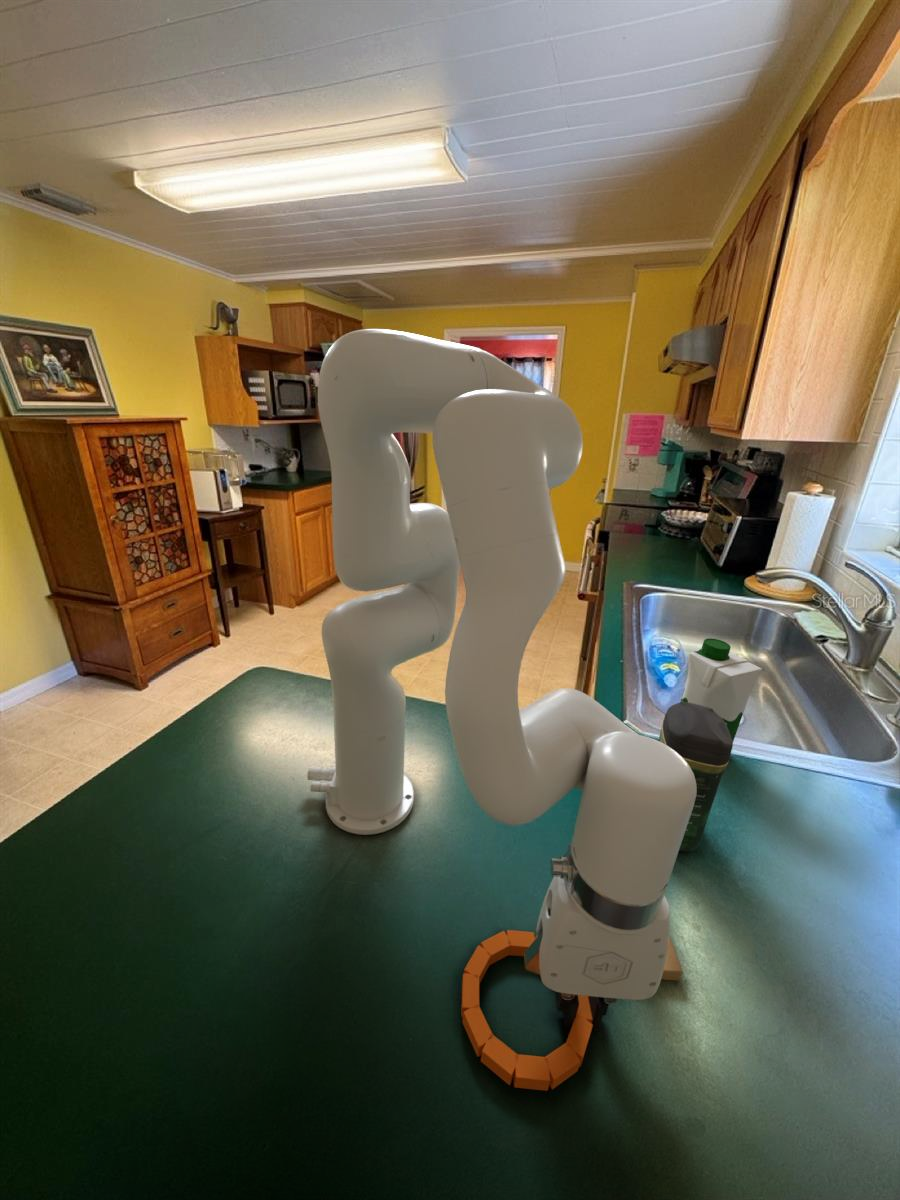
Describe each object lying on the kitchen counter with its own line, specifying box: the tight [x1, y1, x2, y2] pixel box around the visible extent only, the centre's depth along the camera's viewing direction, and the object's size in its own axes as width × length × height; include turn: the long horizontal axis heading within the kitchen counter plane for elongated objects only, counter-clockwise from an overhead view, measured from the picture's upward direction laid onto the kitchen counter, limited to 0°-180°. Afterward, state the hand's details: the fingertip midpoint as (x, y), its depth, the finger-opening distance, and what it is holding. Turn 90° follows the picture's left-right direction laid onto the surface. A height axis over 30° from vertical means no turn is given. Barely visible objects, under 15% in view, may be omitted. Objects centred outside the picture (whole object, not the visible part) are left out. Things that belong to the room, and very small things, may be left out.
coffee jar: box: [658, 701, 734, 852], centre depth 64 cm, size 10×8×19 cm
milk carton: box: [680, 637, 763, 744], centre depth 80 cm, size 9×9×20 cm
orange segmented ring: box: [460, 929, 593, 1092], centre depth 45 cm, size 12×12×2 cm
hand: (578, 1010), depth 46 cm, fingers closed on orange segmented ring, 1 cm apart
